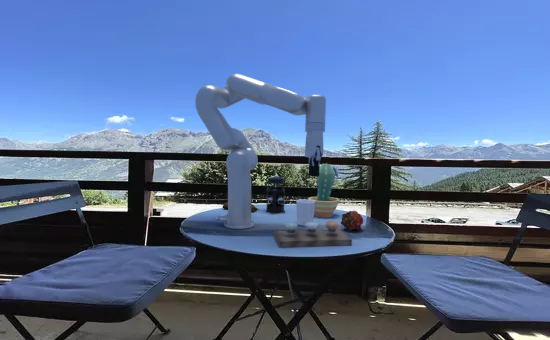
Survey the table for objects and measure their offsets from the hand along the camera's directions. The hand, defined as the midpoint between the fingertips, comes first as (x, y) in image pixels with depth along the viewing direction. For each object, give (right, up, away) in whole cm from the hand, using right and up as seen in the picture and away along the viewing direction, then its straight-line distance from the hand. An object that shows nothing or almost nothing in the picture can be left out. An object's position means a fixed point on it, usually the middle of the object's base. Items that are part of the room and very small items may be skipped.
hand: (313, 175), depth 127 cm
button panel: (-2, -23, -10) cm, 25 cm away
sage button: (-9, -20, -11) cm, 25 cm away
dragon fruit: (+16, -22, +6) cm, 28 cm away
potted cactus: (+8, -20, +31) cm, 38 cm away
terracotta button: (+5, -20, -9) cm, 22 cm away
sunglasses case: (-32, -19, +42) cm, 56 cm away
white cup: (-2, -21, +14) cm, 25 cm away
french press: (-15, -19, +38) cm, 45 cm away
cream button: (-2, -20, -10) cm, 22 cm away
